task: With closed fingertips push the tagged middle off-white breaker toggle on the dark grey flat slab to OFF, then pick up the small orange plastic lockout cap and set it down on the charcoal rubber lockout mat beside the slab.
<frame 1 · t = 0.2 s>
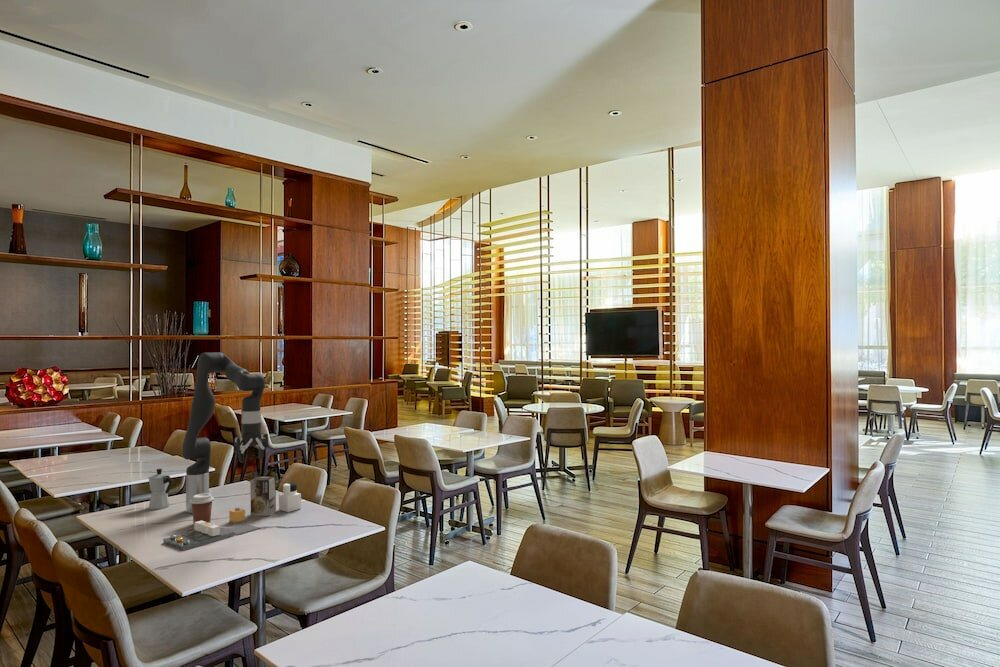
hand: (251, 460, 240), 28 cm above the table, fingers open, 8 cm apart
lockout cap: (237, 521, 249), on the table
coffee cup: (202, 524, 246), on the table
coffee maker: (160, 507, 271), on the table
dark grey flat slab: (199, 539, 226), on the table
lockout mat: (242, 529, 238), on the table
medicine bottle: (289, 509, 267), on the table
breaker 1: (200, 526, 232), point 3 cm above the table, slide at 0.0 cm
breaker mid: (207, 527, 229), point 4 cm above the table, slide at 0.0 cm
breaker 2: (213, 530, 226), point 3 cm above the table, slide at 0.0 cm
coffee box: (263, 514, 260), on the table
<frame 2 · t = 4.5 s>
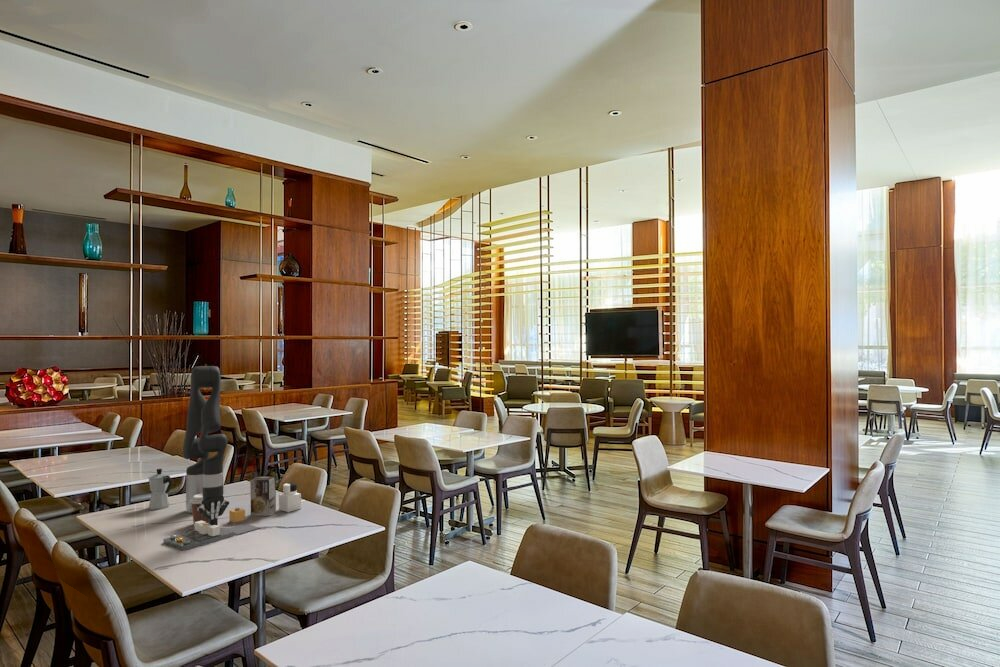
hand: (213, 527, 231), 3 cm above the table, fingers closed
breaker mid: (204, 528, 228), point 4 cm above the table, slide at 0.9 cm, touching gripper
everything else where it was.
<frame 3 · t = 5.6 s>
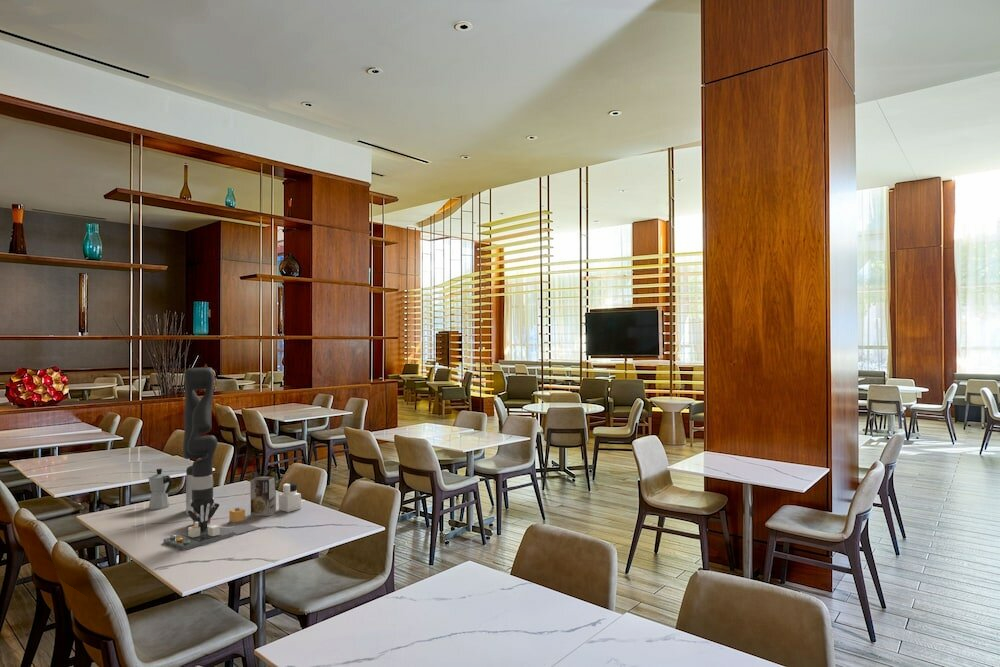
hand: (202, 530, 227), 3 cm above the table, fingers closed
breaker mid: (194, 531, 225), point 4 cm above the table, slide at 5.0 cm, touching gripper
everything else where it was.
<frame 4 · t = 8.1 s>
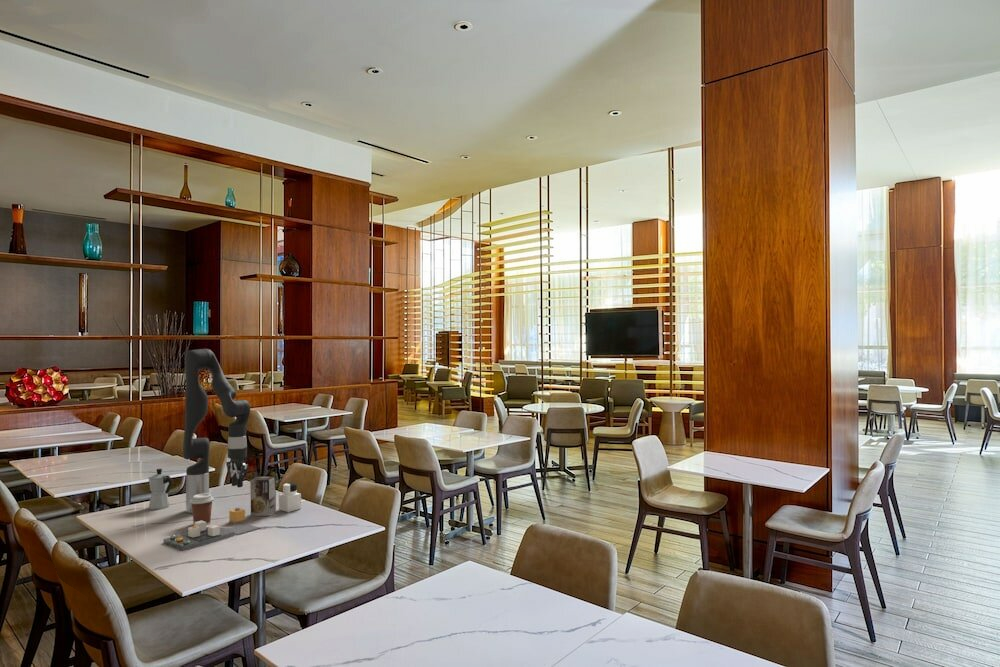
hand: (237, 486, 249), 15 cm above the table, fingers open, 3 cm apart
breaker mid: (194, 531, 225), point 4 cm above the table, slide at 5.1 cm
everything else where it was.
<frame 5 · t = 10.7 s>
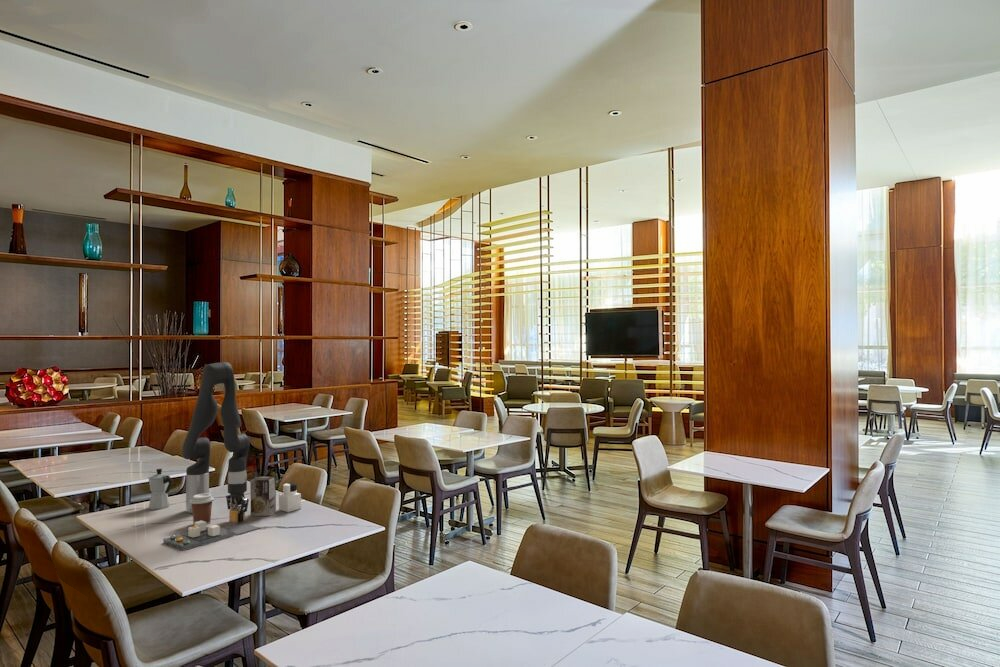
hand: (237, 520, 249), 0 cm above the table, fingers closed on lockout cap, 4 cm apart
lockout cap: (237, 521, 249), on the table, touching gripper
everything else where it was.
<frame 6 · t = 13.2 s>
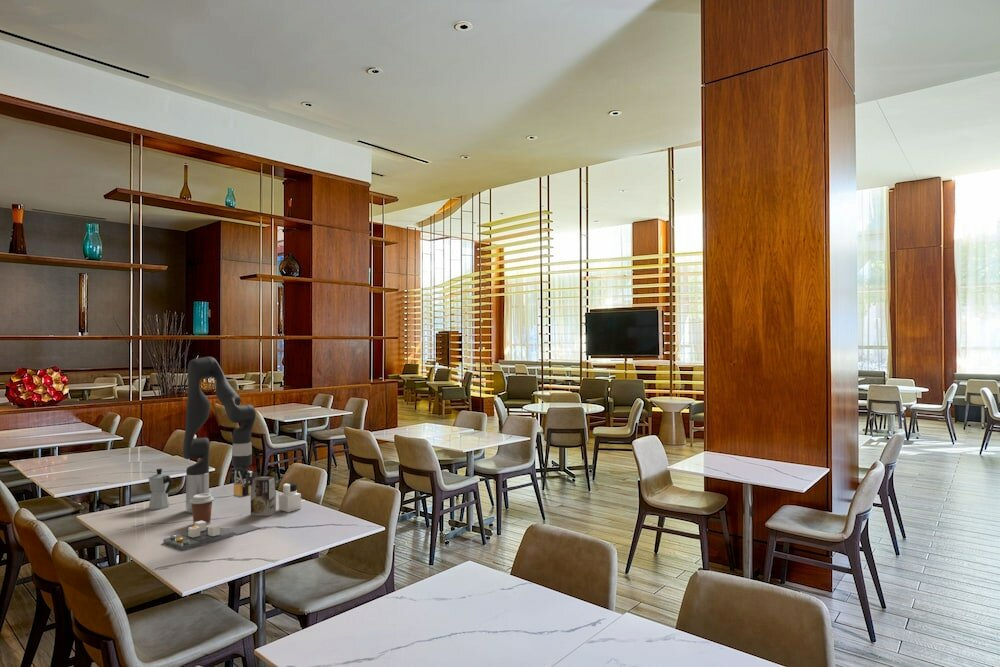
hand: (241, 494, 238), 14 cm above the table, fingers closed on lockout cap, 4 cm apart
lockout cap: (241, 495, 238), point 14 cm above the table, touching gripper
everything else where it was.
when the fingers open (2 cm above the table, at t = 15.8 s): lockout cap stays where it is, resting on lockout mat.
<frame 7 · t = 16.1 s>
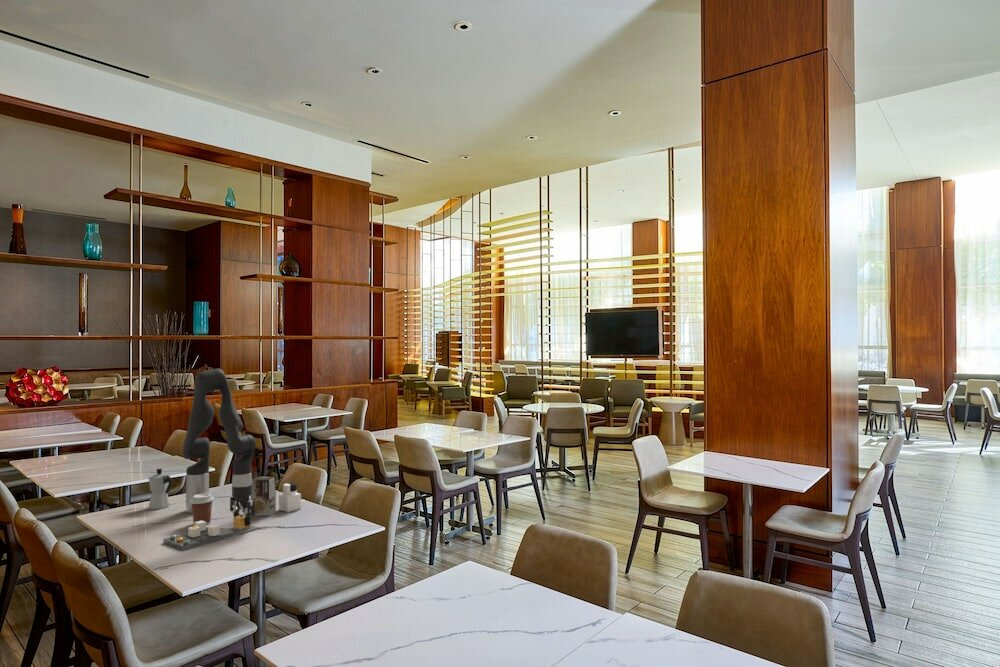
hand: (242, 523, 238), 2 cm above the table, fingers open, 7 cm apart
lockout cap: (241, 528, 238), resting on lockout mat
everything else where it was.
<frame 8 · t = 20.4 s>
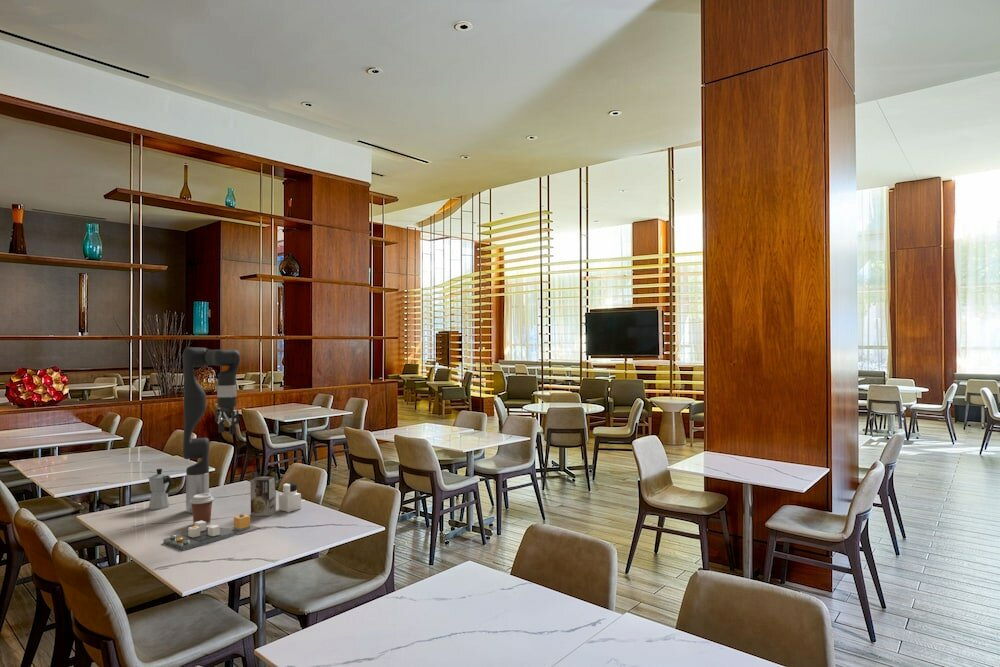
hand: (226, 433, 249), 38 cm above the table, fingers open, 8 cm apart
nothing on the table moved.
at the end: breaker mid slide at 5.1 cm; lockout cap inside the target area on the lockout mat (0.1 cm from its centre), point 0.4 cm above the lockout mat's base; lockout cap tilted 0° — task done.
